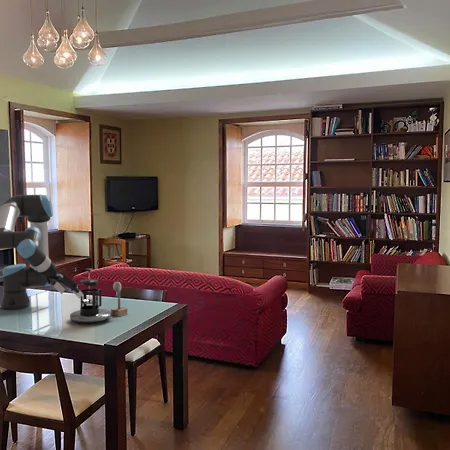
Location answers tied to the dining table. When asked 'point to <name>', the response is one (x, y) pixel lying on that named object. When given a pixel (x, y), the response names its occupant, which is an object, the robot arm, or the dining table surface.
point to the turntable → (101, 316)
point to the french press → (89, 309)
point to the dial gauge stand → (119, 310)
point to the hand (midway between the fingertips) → (72, 293)
